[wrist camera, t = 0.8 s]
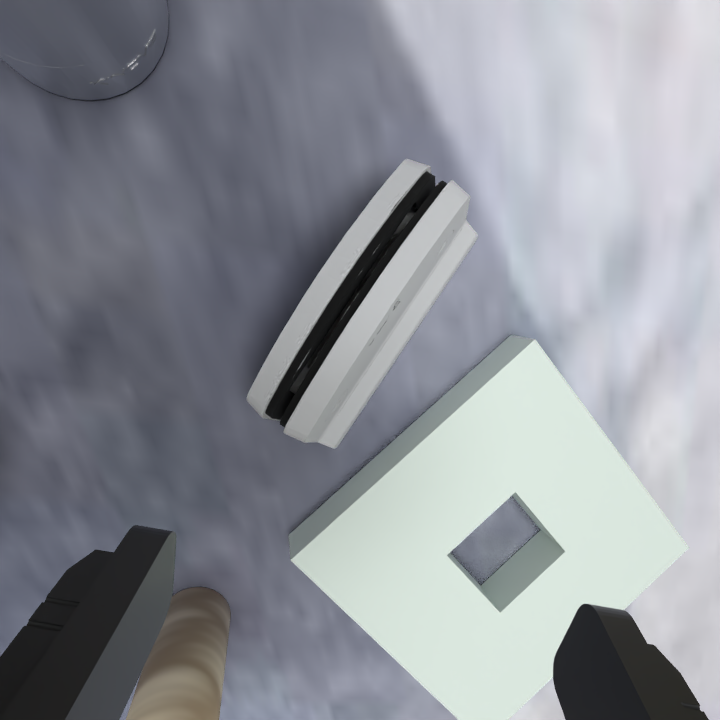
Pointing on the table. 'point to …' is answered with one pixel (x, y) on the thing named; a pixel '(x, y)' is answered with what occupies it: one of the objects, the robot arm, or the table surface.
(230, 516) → the table surface
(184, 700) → the birch pin
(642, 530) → the collar block
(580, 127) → the table surface
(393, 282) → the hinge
